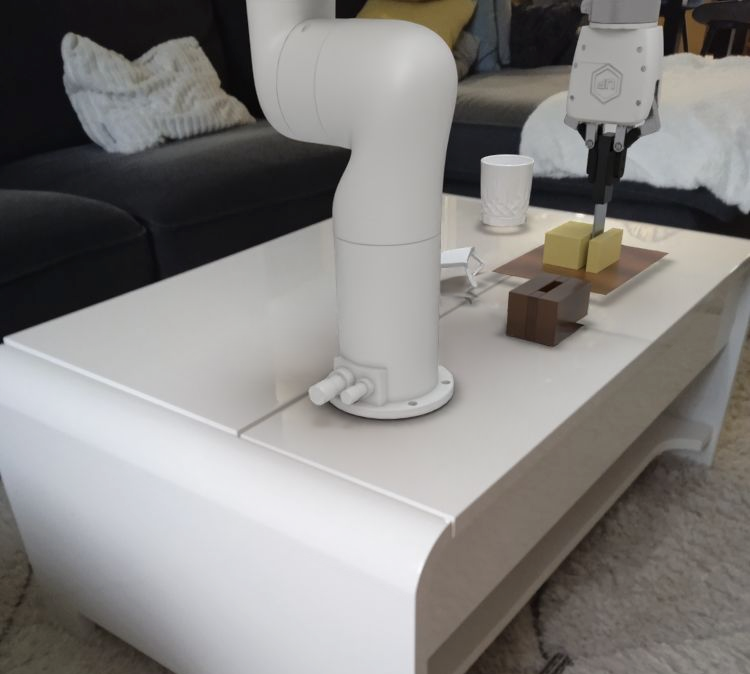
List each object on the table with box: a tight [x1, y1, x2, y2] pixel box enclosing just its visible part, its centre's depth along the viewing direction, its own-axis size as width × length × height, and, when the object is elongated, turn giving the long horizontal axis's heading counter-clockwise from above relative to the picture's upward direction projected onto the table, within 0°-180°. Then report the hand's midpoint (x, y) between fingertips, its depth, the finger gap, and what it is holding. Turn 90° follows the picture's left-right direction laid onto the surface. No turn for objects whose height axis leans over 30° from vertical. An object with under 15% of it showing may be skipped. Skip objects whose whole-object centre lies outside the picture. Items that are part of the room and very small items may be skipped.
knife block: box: [505, 272, 592, 347], centre depth 92 cm, size 8×6×5 cm
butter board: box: [491, 243, 670, 296], centre depth 110 cm, size 20×16×1 cm
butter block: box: [543, 220, 593, 270], centre depth 109 cm, size 7×5×4 cm
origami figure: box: [440, 246, 486, 305], centre depth 103 cm, size 12×8×5 cm
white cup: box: [480, 154, 535, 228], centre depth 125 cm, size 8×8×10 cm
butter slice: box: [586, 227, 624, 273], centre depth 107 cm, size 7×2×4 cm, turn 142°
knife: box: [591, 131, 616, 239], centre depth 104 cm, size 3×2×15 cm, turn 142°
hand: (603, 181), depth 103 cm, fingers closed on knife, 1 cm apart
